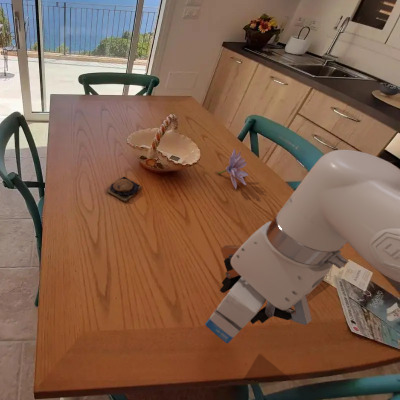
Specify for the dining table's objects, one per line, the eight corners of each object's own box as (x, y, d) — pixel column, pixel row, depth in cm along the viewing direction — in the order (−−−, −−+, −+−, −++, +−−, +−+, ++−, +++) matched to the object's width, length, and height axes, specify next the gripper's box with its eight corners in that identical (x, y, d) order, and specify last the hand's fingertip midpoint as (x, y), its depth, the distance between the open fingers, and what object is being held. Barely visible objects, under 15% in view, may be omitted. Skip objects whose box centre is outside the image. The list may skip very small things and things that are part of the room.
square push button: (125, 203, 87) (127, 195, 84) (105, 191, 90) (106, 183, 88) (142, 188, 93) (145, 180, 90) (122, 177, 97) (124, 169, 94)
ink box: (226, 345, 49) (257, 316, 41) (202, 323, 52) (227, 292, 44) (247, 316, 54) (279, 285, 46) (224, 297, 56) (250, 265, 49)
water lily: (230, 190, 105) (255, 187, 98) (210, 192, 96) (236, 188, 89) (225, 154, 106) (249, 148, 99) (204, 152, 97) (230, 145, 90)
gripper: (388, 277, 32) (300, 338, 44) (260, 193, 43) (217, 260, 55) (358, 304, 29) (272, 361, 41) (228, 207, 40) (190, 274, 52)
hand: (241, 302), depth 48 cm, fingers closed on ink box, 5 cm apart
